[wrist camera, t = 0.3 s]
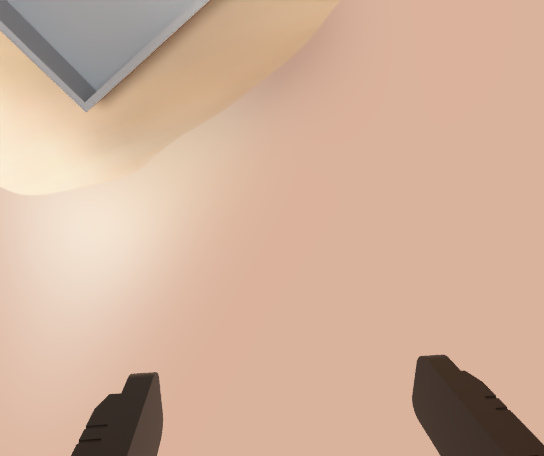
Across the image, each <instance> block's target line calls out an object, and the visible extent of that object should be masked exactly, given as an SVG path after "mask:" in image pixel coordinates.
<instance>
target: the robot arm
mask: <svg viewBox="0 0 544 456" xmlns="http://www.w3.org/2000/svg"><path fill="white" fill-rule="evenodd" d="M412 401H413V407H414V411H415V414H416V416H417V418H418V420H419V422H420V423H421V425H422V427H423V428H424V430H425V431H426V433H427V435H428V436H429V438H430V439H431V441H432V443H433V444H434V446H435V447H436V449H437V450H438V452H439V454H440V455H441V456H544V445H543V444H542V443H541V442H540V441H539V440H538V439H537V438H536V437H535V436H534V434H533V433H532V432H531V431H530V430H529V429H528V428H527V427H526V426H525V425H524V424H523V423H522V422H521V421H520V420H519V419H518V418H517V417H516V416H515V415H514V414H513V413H512V412H511V411H510V410H508V409H507V407H506V406H505V405H504V404H503V403H502V401H501V400H500V399H499V398H496V395H495V394H494V393H493V392H492V391H491V390H490V389H489V388H488V387H487V386H486V385H485V384H484V383H483V382H482V381H480V380H479V379H477V378H476V377H474V376H472V375H471V374H469V373H468V372H466V371H460V370H459V368H458V367H457V366H456V365H455V364H454V363H453V362H452V361H451V360H450V359H449V358H448V357H447V356H445V355H431V356H420V357H419V358H418V360H417V366H416V373H415V380H414V388H413V395H412ZM162 427H163V413H162V402H161V394H160V384H159V376H158V373H156V372H154V373H137V374H130V376H129V377H128V379H127V382H126V384H125V386H124V388H123V391H122V393H121V394H109V395H108V396H107V397H106V398H105V399H104V400H103V401H102V402H101V403H100V404H99V405H98V406H97V407H96V408H95V409H94V412H93V413H92V415H91V417H90V419H89V421H88V423H87V425H86V429H85V430H84V431H83V433H82V435H81V437H80V439H79V444H77V445H76V447H75V449H74V451H73V453H72V455H71V456H157V453H158V448H159V445H160V441H161V436H162Z"/></svg>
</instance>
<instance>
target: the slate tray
mask: <svg viewBox="0 0 544 456" xmlns="http://www.w3.org/2000/svg"><path fill="white" fill-rule="evenodd" d="M209 1H210V0H0V31H1V32H2V33H3V34H5V35H6V36H7V37H8V38H9V39H10V40H11V41H12V42H13V43H14V44H15V45H16V46H17V47H18V48H19V49H20V50H21V51H22V52H23V53H24V54H25V55H27V56H28V57H29V58H30V59H31V60H32V61H33V62H34V63H35V64H36V65H37V66H38V67H39V68H40V69H41V70H42V71H43V72H44V73H45V74H46V75H47V76H49V77H50V78H51V79H52V80H53V81H54V82H55V83H56V84H57V85H58V86H59V87H60V88H61V89H62V90H63V91H64V92H65V93H66V94H67V95H68V96H69V97H71V98H72V99H73V100H74V101H75V102H76V103H77V104H78V105H79V106H80V107H81V108H82V109H83V110H84V111H85V112H87V111H88V110H89V109H91V108H92V107H93V106H94V105H95V104H97V103H98V102H99V101H100V100H101V99H102V98H103V97H104V96H106V95H107V94H108V93H109V92H110V91H111V90H112V89H113V88H114V87H115V86H117V85H118V84H119V83H120V82H121V81H122V80H123V79H124V78H125V77H126V76H128V75H129V74H130V73H131V72H132V71H133V70H134V69H135V68H136V67H137V66H139V65H140V64H141V63H142V62H143V61H144V60H145V59H146V58H147V57H149V56H150V55H151V54H152V53H153V52H154V51H155V50H156V49H157V48H158V47H160V46H161V45H162V44H163V43H164V42H165V41H166V40H167V39H168V38H169V37H171V36H172V35H173V34H174V33H175V32H176V31H177V30H178V29H179V28H180V27H182V26H183V25H184V24H185V23H186V22H187V21H188V20H189V19H190V18H191V17H193V16H194V15H195V14H196V13H197V12H198V11H199V10H200V9H201V8H202V7H204V6H205V5H206V4H207V3H208V2H209Z"/></svg>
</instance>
